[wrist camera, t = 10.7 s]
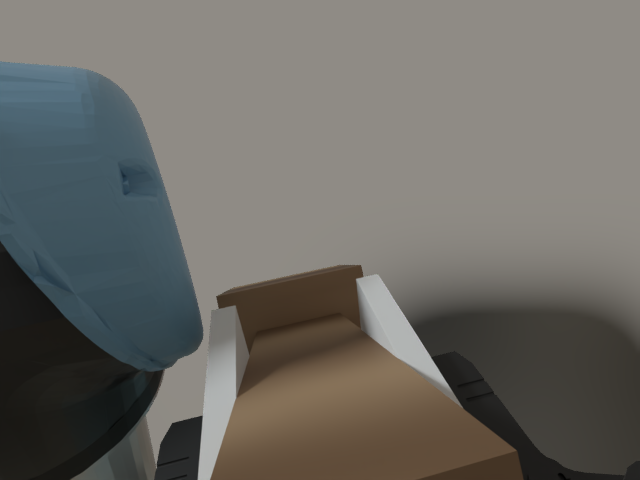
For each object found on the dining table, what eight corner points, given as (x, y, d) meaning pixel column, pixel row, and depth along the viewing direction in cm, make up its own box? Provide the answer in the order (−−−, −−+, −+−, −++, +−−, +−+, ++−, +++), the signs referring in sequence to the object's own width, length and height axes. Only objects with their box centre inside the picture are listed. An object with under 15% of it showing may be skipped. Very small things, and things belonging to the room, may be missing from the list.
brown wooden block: (252, 380, 25) (233, 287, 25) (357, 354, 26) (338, 265, 26) (117, 978, 4) (14, 399, 4) (700, 740, 5) (587, 266, 5)
